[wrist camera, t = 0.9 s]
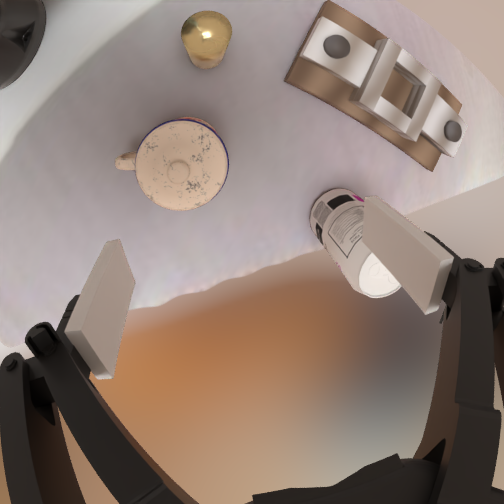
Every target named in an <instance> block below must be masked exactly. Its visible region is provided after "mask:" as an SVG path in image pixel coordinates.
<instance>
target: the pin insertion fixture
mask: <svg viewBox="0 0 504 504" xmlns="http://www.w3.org/2000/svg"><path fill="white" fill-rule="evenodd" d="M284 81H285V82H287V83H289V84H291V85H293V86H295V87H297V88H299V89H301V90H303V91H305V92H307V93H309V94H311V95H313V96H315V97H317V98H318V99H320V100H322V101H324V102H326V103H328V104H329V105H331V106H333V107H335V108H337V109H338V110H340V111H342V112H343V113H345V114H347V115H348V116H350V117H352V118H353V119H355V120H357V121H358V122H360V123H362V124H363V125H365V126H366V127H368V128H369V129H371V130H373V131H374V132H376V133H377V134H379V135H380V136H382V137H383V138H385V139H386V140H388V141H389V142H390V143H392V144H393V145H395V146H396V147H398V148H399V149H400V150H402V151H403V152H405V153H406V154H407V155H409V156H410V157H411V158H413V159H414V160H415V161H417V162H418V163H419V164H421V165H422V166H423V167H425V168H426V169H427V170H430V171H432V172H433V170H434V168H435V166H436V164H437V161H438V159H439V157H440V155H441V153H443V154H445V155H448V156H450V157H453V158H454V157H455V155H456V153H457V150H458V148H459V146H460V144H461V141H462V139H463V137H464V134H465V132H466V129H467V127H468V125H467V124H466V123H465V121H464V120H463V119H462V118H461V117H460V116H459V115H458V114H459V112H460V109H461V106H462V104H461V103H460V102H459V101H458V100H457V99H456V98H455V97H454V96H453V95H452V94H451V93H450V91H449V90H448V89H447V88H445V87H444V86H443V85H442V83H441V82H440V81H439V80H438V79H437V78H436V77H435V76H434V75H433V74H432V73H431V72H430V71H428V70H427V69H426V68H425V67H424V66H423V65H422V64H421V63H419V62H418V61H417V60H416V59H415V58H414V57H412V56H411V55H410V54H409V53H408V52H406V51H405V50H404V49H403V48H401V47H400V46H399V45H398V44H396V43H395V42H394V41H392V40H391V39H390V38H387V37H386V36H384V35H383V34H382V33H380V32H379V31H377V30H376V29H375V28H373V27H372V26H370V25H369V24H367V23H366V22H364V21H363V20H361V19H360V18H358V17H357V16H355V15H353V14H352V13H350V12H349V11H347V10H345V9H344V8H342V7H340V6H339V5H337V4H335V3H333V2H332V1H330V0H327V1H326V2H324V4H323V6H322V8H321V10H320V11H319V13H318V15H317V17H316V19H315V21H314V23H313V25H312V27H311V28H310V30H309V32H308V34H307V36H306V38H305V40H304V42H303V44H302V46H301V48H300V50H299V52H298V54H297V56H296V58H295V60H294V62H293V64H292V66H291V68H290V70H289V72H288V74H287V76H286V78H285V80H284Z"/></svg>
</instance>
